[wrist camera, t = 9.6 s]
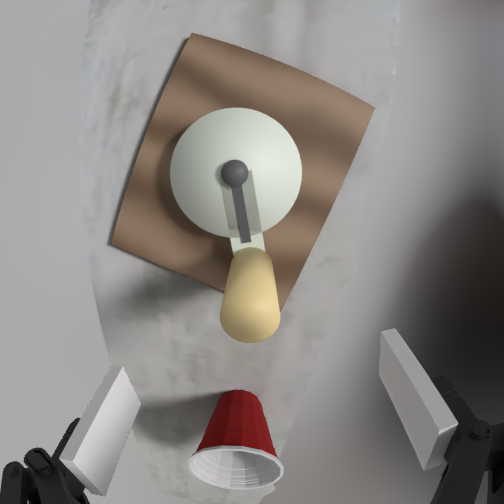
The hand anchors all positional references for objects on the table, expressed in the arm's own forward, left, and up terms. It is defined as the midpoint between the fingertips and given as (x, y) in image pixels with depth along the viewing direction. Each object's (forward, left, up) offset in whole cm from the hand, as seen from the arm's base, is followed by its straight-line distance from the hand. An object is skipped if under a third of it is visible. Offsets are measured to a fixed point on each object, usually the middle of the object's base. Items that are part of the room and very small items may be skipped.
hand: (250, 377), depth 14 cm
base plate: (-7, -5, -20) cm, 22 cm away
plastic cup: (+21, +7, -20) cm, 29 cm away
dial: (-5, -4, -19) cm, 19 cm away
